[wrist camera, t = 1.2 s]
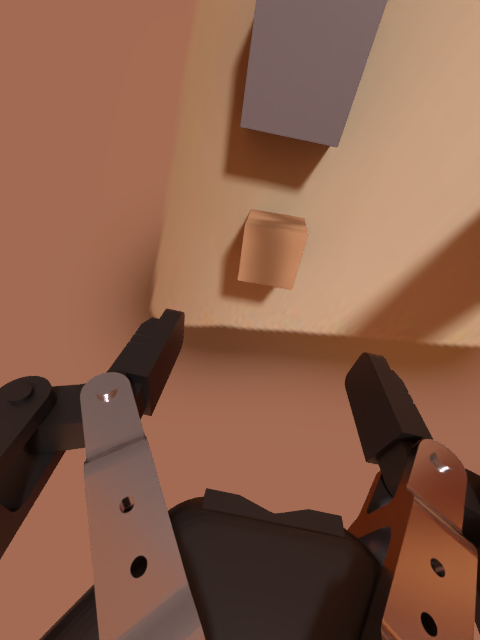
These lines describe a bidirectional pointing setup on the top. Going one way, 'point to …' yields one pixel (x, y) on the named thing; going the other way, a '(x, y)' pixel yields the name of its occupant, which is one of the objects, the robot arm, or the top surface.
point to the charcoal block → (307, 66)
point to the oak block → (272, 249)
